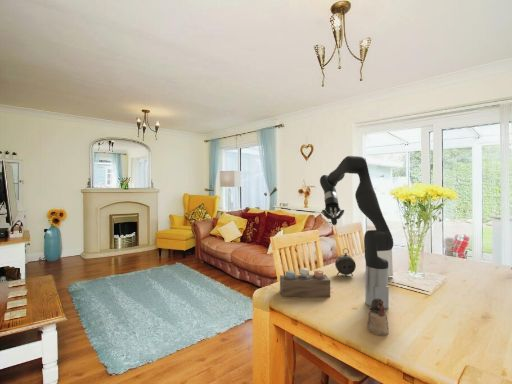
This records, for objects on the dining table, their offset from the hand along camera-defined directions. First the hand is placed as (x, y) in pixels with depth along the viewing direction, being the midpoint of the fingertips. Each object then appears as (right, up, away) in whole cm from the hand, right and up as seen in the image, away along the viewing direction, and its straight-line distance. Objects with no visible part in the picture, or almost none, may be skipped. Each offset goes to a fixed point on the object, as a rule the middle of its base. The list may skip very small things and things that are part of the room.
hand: (334, 224), depth 149 cm
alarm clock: (+9, -31, +9) cm, 34 cm away
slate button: (-27, -24, -17) cm, 40 cm away
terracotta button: (-13, -24, -17) cm, 32 cm away
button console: (-20, -32, -17) cm, 41 cm away
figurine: (+1, -33, -50) cm, 60 cm away
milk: (+31, -31, +13) cm, 46 cm away
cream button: (-20, -22, -17) cm, 34 cm away
